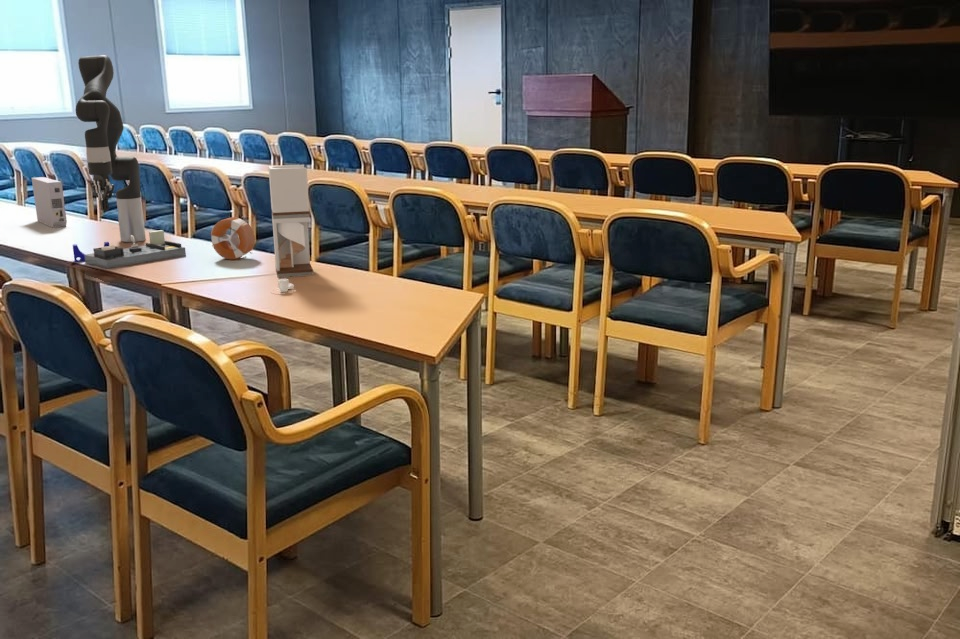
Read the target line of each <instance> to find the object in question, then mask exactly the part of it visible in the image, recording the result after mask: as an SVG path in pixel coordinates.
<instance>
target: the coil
mask: <svg viewBox="0 0 960 639" xmlns="http://www.w3.org/2000/svg"><path fill="white" fill-rule="evenodd" d="M242 218H244V215H243V216H241V218H239V217H237V216H234V217H233V216H232V217H228V218H224V219H221V220H219V221H218V222H216V223H215V225H214V226H213V227H212V229H211V233H210V236H211V242H212V245H211V246H212V247H213V249H214V251H215V253H216V254H218V255H219V256H220V257H222V258H223V259H227V260H231V261H232V260H241V259H245V258H247V254H248V253H249V254H253V252H252V250H253V249H254V247H255V244H256V242H255V241H256V240H255V239H256V236H255V232H254V230H253V228H252V226H251V224H250V223H248V222H250V220H246V221H245V220H244V219H242ZM229 229H230V234H227V233H228V230H229ZM244 255H245V256H244ZM243 256H244V257H243Z"/></svg>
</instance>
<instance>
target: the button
mask: <svg viewBox="0 0 960 639" xmlns="http://www.w3.org/2000/svg"><path fill="white" fill-rule="evenodd" d="M100 248H101V247H100ZM101 249H102V250H111V249H115V245H109V246H105V247H104V246H102V248H101Z"/></svg>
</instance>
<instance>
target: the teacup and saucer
mask: <svg viewBox="0 0 960 639" xmlns="http://www.w3.org/2000/svg"><path fill="white" fill-rule="evenodd" d="M277 288H278V289H279V290H278V291H279V292H280V291H281V292H280V293H286V292H285V291H288V292H289V290H288V289H295V284H293V283H292V282H290V281H289V279H288V278H279V279H278V280H277Z"/></svg>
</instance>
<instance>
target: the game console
mask: <svg viewBox="0 0 960 639" xmlns="http://www.w3.org/2000/svg"><path fill="white" fill-rule="evenodd" d="M31 182H32V184H31V185H32V191H33V197H34V205H35V211H36V212H35V213H36V219H37V222H39V223H42V224H44V225H46V226H49V227H51V228H60V227H61V228H62V226H63V227H67V223H68V221H67V215H66V214H67V212H66V206H65V200H64V192H63V190H64V189H63V184H62V182H63V181H60V180H56V179H51V178H48V177H46V176H39V177H31Z"/></svg>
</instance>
